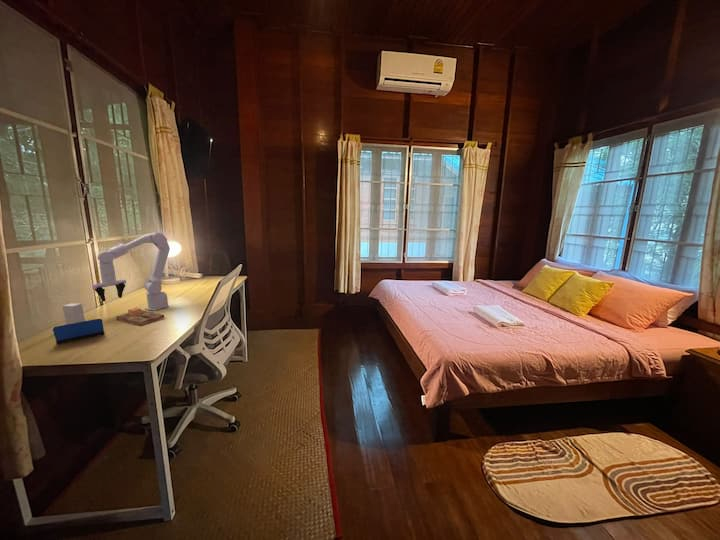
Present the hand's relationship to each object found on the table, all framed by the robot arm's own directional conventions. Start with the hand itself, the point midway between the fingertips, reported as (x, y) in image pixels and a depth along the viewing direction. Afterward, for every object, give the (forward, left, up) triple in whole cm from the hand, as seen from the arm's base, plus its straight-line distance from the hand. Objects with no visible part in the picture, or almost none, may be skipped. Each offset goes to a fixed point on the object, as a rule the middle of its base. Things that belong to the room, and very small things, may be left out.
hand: (112, 299), depth 162 cm
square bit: (-3, +13, -10) cm, 17 cm away
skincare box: (+18, +4, -10) cm, 21 cm away
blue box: (+23, +20, -10) cm, 32 cm away
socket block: (-3, +18, -9) cm, 21 cm away
